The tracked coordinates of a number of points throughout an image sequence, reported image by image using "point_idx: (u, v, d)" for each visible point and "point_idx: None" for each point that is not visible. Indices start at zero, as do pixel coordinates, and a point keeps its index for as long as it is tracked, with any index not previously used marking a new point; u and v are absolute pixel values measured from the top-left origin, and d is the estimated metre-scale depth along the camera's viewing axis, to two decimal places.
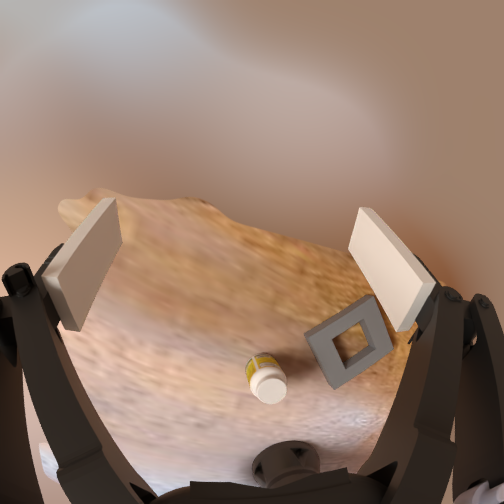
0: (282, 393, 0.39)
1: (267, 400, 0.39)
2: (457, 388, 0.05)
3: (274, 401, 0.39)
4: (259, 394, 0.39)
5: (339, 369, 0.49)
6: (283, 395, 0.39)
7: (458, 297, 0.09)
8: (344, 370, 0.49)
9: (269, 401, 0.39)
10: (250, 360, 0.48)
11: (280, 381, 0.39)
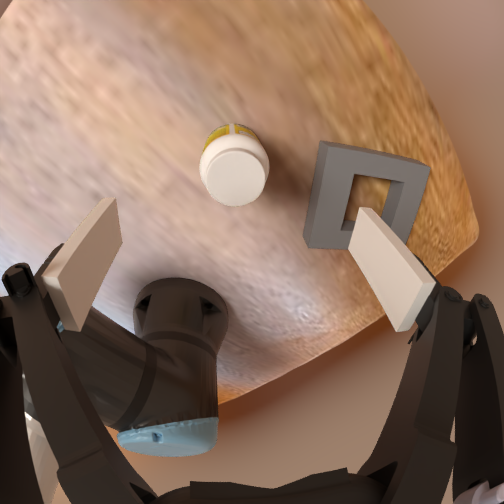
0: (251, 194, 0.22)
1: (218, 192, 0.22)
2: (457, 387, 0.05)
3: (228, 201, 0.22)
4: (211, 171, 0.21)
5: (334, 224, 0.33)
6: (249, 199, 0.22)
7: (458, 297, 0.09)
8: (338, 230, 0.34)
9: (220, 195, 0.22)
10: (224, 125, 0.27)
11: (261, 169, 0.21)
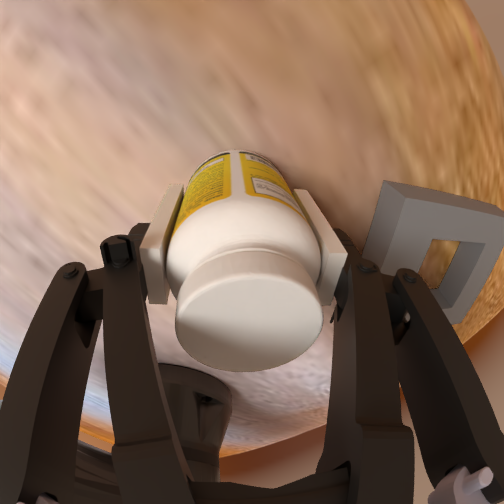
0: (285, 354, 0.09)
1: (210, 353, 0.09)
2: (395, 365, 0.06)
3: (233, 366, 0.09)
4: (187, 320, 0.08)
5: None
6: (280, 361, 0.09)
7: (373, 267, 0.10)
8: None
9: (213, 359, 0.09)
10: (221, 155, 0.15)
11: (316, 311, 0.08)
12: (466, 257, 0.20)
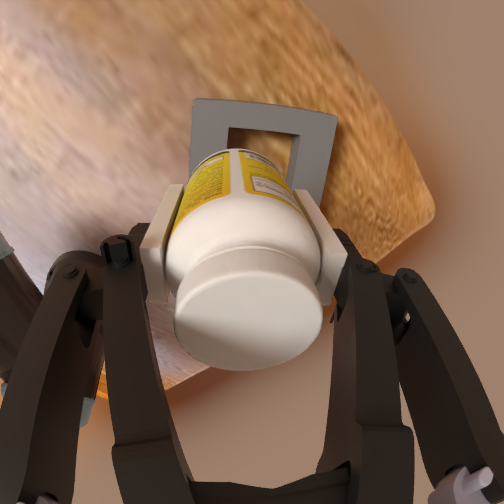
0: (284, 353, 0.09)
1: (208, 352, 0.09)
2: (395, 365, 0.06)
3: (232, 365, 0.09)
4: (186, 318, 0.08)
5: None
6: (280, 360, 0.09)
7: (373, 267, 0.10)
8: None
9: (212, 358, 0.09)
10: (221, 154, 0.15)
11: (315, 309, 0.08)
12: (294, 153, 0.30)
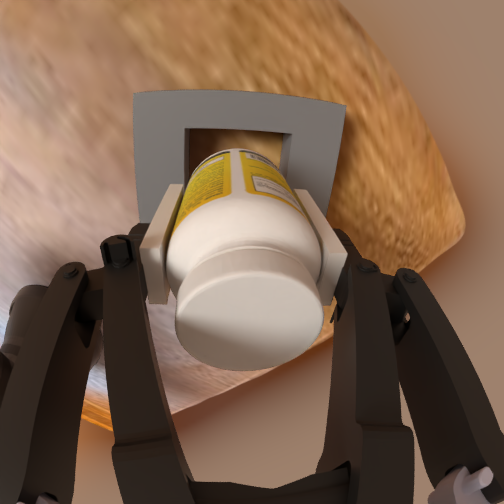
0: (285, 353, 0.09)
1: (210, 352, 0.09)
2: (395, 365, 0.06)
3: (233, 365, 0.09)
4: (187, 318, 0.08)
5: None
6: (281, 360, 0.09)
7: (373, 267, 0.10)
8: None
9: (213, 358, 0.09)
10: (222, 154, 0.15)
11: (316, 309, 0.08)
12: (284, 160, 0.21)
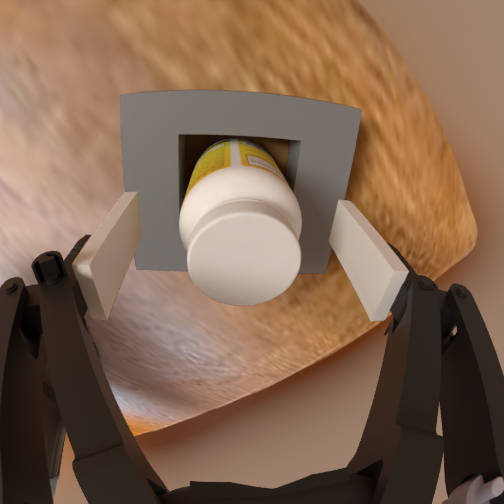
0: (273, 287, 0.12)
1: (213, 285, 0.12)
2: (439, 379, 0.06)
3: (231, 298, 0.12)
4: (197, 252, 0.11)
5: (165, 229, 0.19)
6: (269, 294, 0.12)
7: (432, 285, 0.09)
8: (177, 240, 0.20)
9: (216, 291, 0.12)
10: (223, 142, 0.17)
11: (294, 246, 0.11)
12: (291, 170, 0.19)
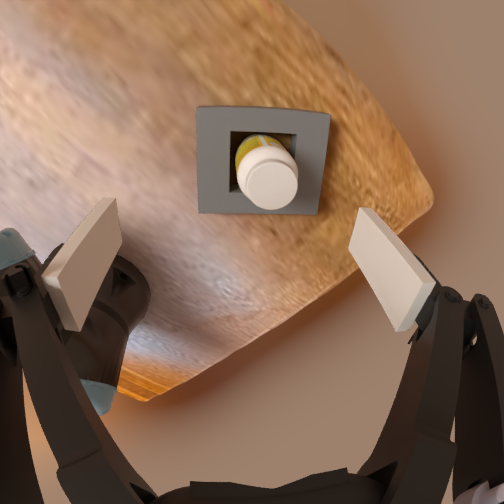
0: (285, 198, 0.25)
1: (257, 197, 0.25)
2: (457, 388, 0.05)
3: (266, 205, 0.26)
4: (251, 180, 0.24)
5: (220, 186, 0.33)
6: (284, 203, 0.26)
7: (458, 297, 0.09)
8: (226, 192, 0.33)
9: (259, 200, 0.25)
10: (253, 136, 0.31)
11: (294, 177, 0.24)
12: (292, 151, 0.32)
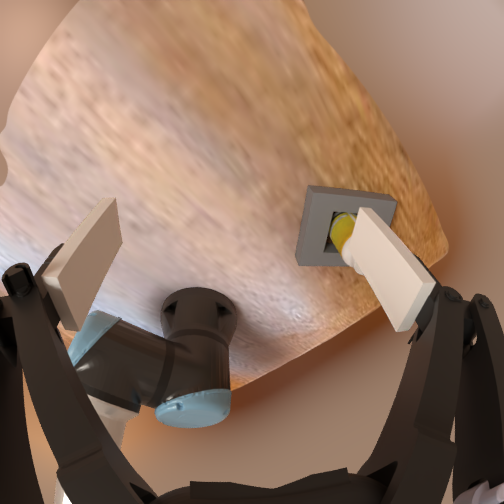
0: None
1: (359, 268, 0.37)
2: (457, 387, 0.05)
3: (362, 272, 0.38)
4: None
5: (318, 248, 0.45)
6: None
7: (458, 297, 0.09)
8: (321, 252, 0.45)
9: (359, 270, 0.38)
10: (344, 212, 0.43)
11: None
12: None
